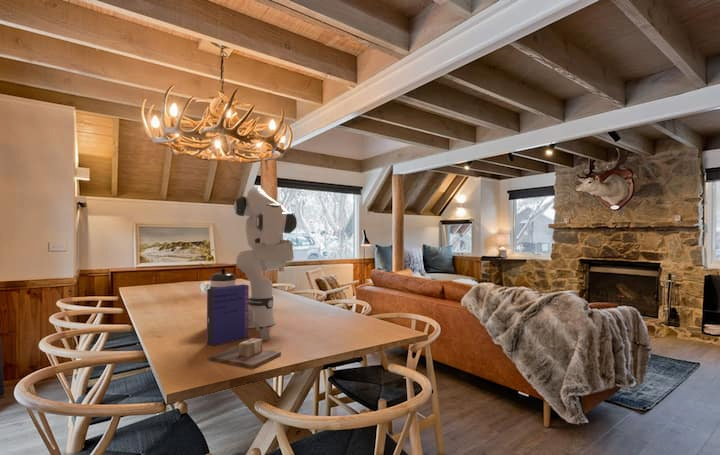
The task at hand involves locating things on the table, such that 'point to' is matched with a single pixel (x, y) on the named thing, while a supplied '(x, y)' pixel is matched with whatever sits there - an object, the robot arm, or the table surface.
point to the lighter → (263, 332)
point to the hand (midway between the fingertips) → (272, 270)
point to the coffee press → (222, 279)
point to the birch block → (250, 347)
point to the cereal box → (227, 314)
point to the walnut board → (243, 357)
